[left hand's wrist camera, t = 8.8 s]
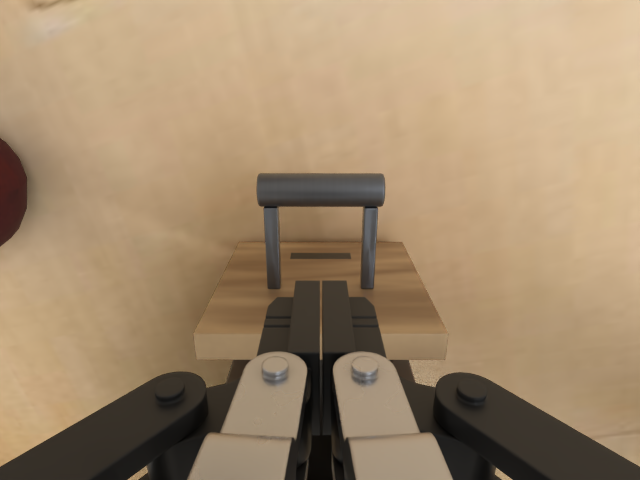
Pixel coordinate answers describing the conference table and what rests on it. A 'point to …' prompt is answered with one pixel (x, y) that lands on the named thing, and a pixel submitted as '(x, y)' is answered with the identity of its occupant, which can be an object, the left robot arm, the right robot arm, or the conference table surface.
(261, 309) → the drawer
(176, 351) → the conference table surface
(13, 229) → the potato
